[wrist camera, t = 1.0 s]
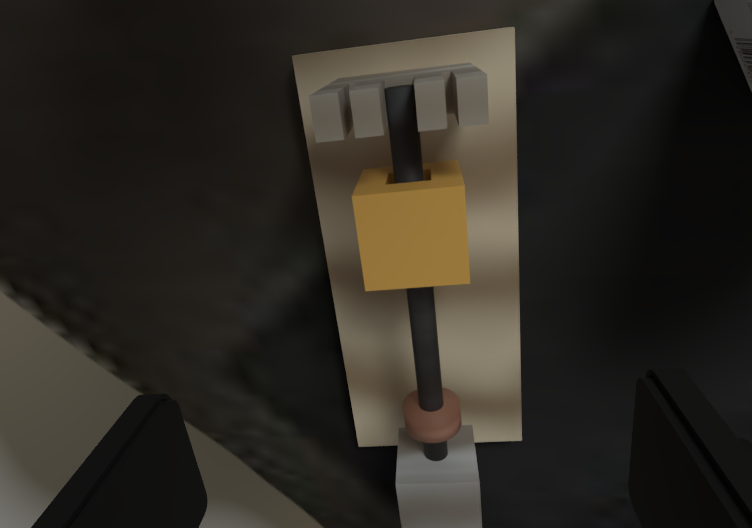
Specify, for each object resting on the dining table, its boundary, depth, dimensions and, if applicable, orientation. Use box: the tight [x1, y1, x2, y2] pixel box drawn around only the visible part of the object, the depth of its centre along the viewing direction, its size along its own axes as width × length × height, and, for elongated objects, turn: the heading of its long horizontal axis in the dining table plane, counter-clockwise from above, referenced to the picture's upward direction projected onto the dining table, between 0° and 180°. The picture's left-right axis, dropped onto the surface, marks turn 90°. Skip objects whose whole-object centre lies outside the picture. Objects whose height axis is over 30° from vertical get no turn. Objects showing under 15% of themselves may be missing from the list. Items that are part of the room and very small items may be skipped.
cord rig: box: [292, 27, 522, 528], centre depth 26 cm, size 23×10×9 cm, turn 7°
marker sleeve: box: [352, 160, 470, 291], centre depth 22 cm, size 4×4×4 cm
